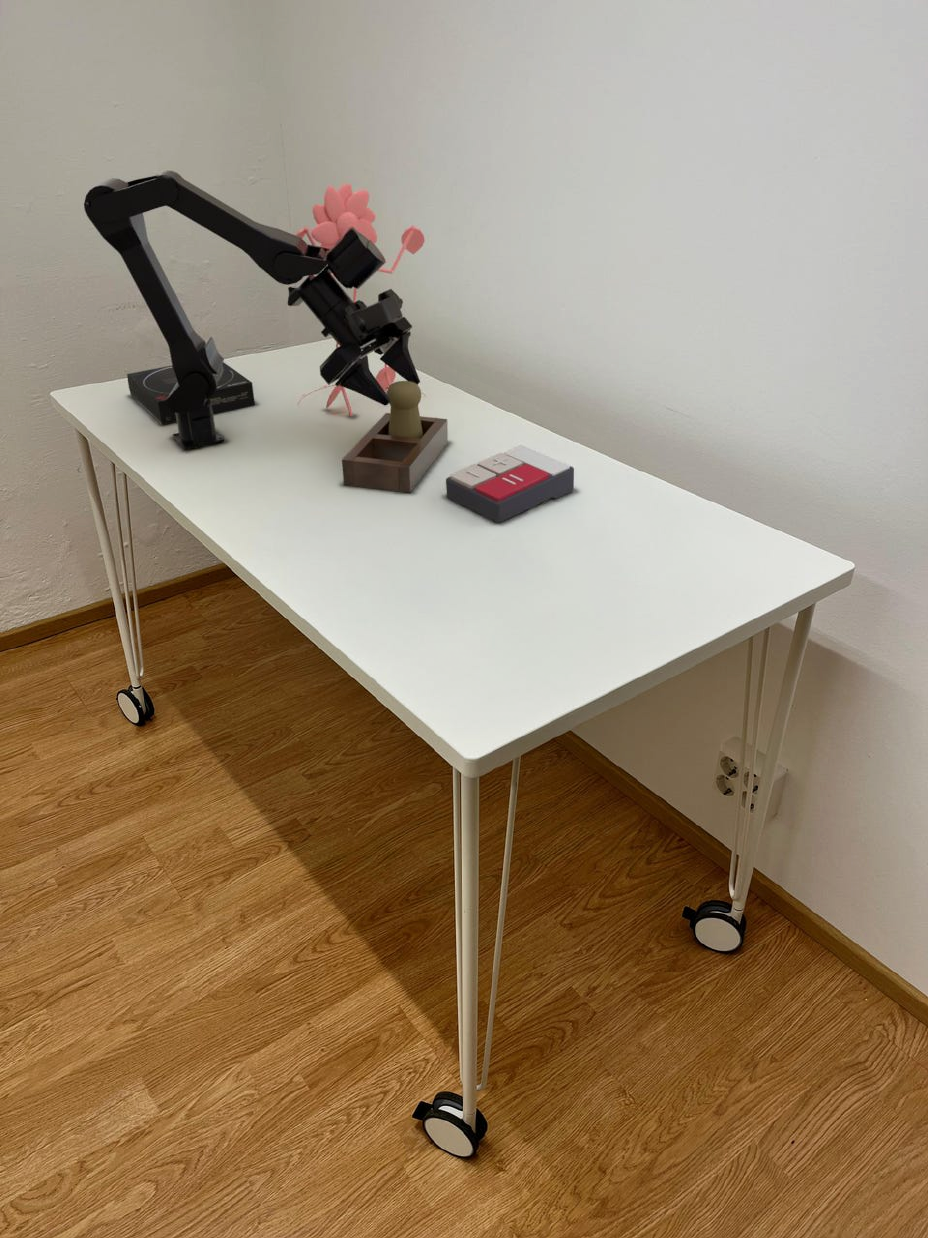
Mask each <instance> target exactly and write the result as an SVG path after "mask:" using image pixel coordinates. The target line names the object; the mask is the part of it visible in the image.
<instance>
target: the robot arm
mask: <svg viewBox="0 0 928 1238" xmlns="http://www.w3.org/2000/svg"><path fill="white" fill-rule="evenodd" d="M164 207H169V208H171V210H174V211H175V212H177V213H179V214H181V215H182V216H184V217H186V218H187V219H189V220H191V221H192V222H194V223H196V224H197V225H199V226H201V227H203V228H204V229H206V230H208V231H209V232H211V233H213V234H214V235H216V236H218V237H219V238H221V239H223V240H225V241H227V242H228V243H230V244H232V245H233V246H235V247H237V248H238V249H240V250H241V251H243V252H244V253H245V254H246V255H248V257H249V258H250V259H251V260H252V261H253V262H254V263H255V265H257V267H259V268H260V269H261V271H264V272H265V274H267V275H268V276H270V277H271V278H272V279H273V280H275V281H276V282H277V283H279V284H282V285H286V286H288V287H287V290H288V297H287V305H288V307H299V306H300V305H301V304H303V303H304V304H305V305H306V306H307V308H308V309H309V311H310V312H311V313H312V314H313V315H314V316H315V318H316V319H317V320H318V321H319V323H320V324H321V325H322V326H323V327H324V328H323V329H322V330H321V332H320V333H321V334H322V336H323V337H324V338H328V337H330V336H331V337H332V338H333V340H334V341H335V342H336V343H338V348H336V347H335V349H334V350H333V351H332V352H331V353H330V354H329V355H328V356H327V358H326V359H325V360H324V361H323V362H322V363H321V364H320V365H319V375H320V377H321V378H322V379H323V380H324V382H325V383H326V384H327V385H328V386H331V384H333V383H334V385H335V387H336V386H337V387H338V386H342V387H344V388H345V389H348V390H350V391H353V392H355V393H357V394H360V395H362V396H364V397H366V398H368V399H370V400H371V401H374V402H377V403H379V404H381V405H383V406H384V407H387V406H388V405H390V404H389V403H390V399H389V398H388V396H387V392H386V391H384V390H383V388H382V387H381V386H380V384H379V383H378V381H377V380H376V376H375V375H374V374H373V373H372V371H371V370H370V365H369V354H372V353H373V352H374V353H375V354H377V355H379V356H380V357H379V360H380V361H381V362H382V363H384V365H385V364H386V365H387V367H390V368H392V369H393V370H394V371H395V373H396V374H398V375H399V376H400V377H402V378H403V379H404V380H405V381H411V382H414V383H416V384H417V385H418V386H419V384H420V383H421V379H420V377H419V374H418V372H417V370H416V367H415V365H414V362H413V359H412V357H411V354H410V350H409V338H410V337H411V335H412V332H411V330H412V328H413V325H412V324H411V322H410V321H409V320H408V318H406V316H404V314H403V312H402V310H401V309H402V308H403V303H404V301H403V299H402V298H401V297H400V296H399V295H398V293H396V292H395V291H394V290H393V289H392V288H389V289H387V290H385V291H383V292H380V293H379V294H378V295H377V301H376V302H374V303H373V304H370V305H368V306H367V305H366V303H365V302H364V301H363V300H360V299H358V300H356V302H353V298H351V296H349V295H348V293H347V292H346V290H344V288H346V289H350V290H351V289H354V288H356V289H357V290H359V289H361V287H362V286H363V285H364V284H365V283H366V282H368V280H370V279H371V278H372V276H374V275H375V274H376V273H377V272H379V271H378V270H379V269H380V268H382V267H383V266H384V265H385V264H386V263H387V260H386V258H385V256H384V255H383V253H382V252H381V250H380V249H379V247H378V246H377V245H376V243H375V244H374V243H373V242H372V241H371V240H370V239H369V240H368V239H367V238H366V237H365V236H364V235H363V234H361V233H359V232H358V231H357V230H356V229H355V228H354V227H350V228H349V229H348V230H347V232H346V233H345V234H344V236H343V237H342V238H341V239H340V240H339V241H338V242H337V243H336V244H335V245H334V246H333V247H332V248H331V249H329V248H324V247H320V245H319V246H318V245H317V246H314V245H312V244H309V243H307V242H306V241H305V240H304V239H301V238H300V237H298V236H296V235H295V234H292V233H290V232H288V231H286V230H282V229H280V228H277V227H273V226H269V225H266V224H262V223H259V222H257V221H255V220H253V219H252V218H250V217H248V216H246V215H245V214H243V213H241V212H240V211H238V210H236V209H235V208H234V207H231V206H230V205H228V204H226V203H225V202H223V201H221V200H220V199H218V198H216V197H215V196H213V195H212V194H210V193H208V192H206V191H205V190H203V189H201V188H200V187H198V186H197V185H194V184H193V183H191V182H190V181H188V180H186V179H185V178H184V177H182V176H181V174H179V173H178V172H177V171H174V170H165V171H163V172H161V173H159V174H155V175H151V176H144V177H140V178H136V179H133V180H128V181H124V180H122V179H120V178H114V177H112V178H111V177H110V178H107V179H104V180H103V181H102V182H100V183H99V184H97V185H95V186H94V187H92V188H91V189H89V190H88V192H87V193H86V195H85V198H84V203H83V208H84V212H85V215H86V217H87V218H88V220H89V221H90V222H91V224H92V225H93V227H94V228H95V229H96V231H97V232H98V233H99V234H100V236H101V237H102V239H103V240H104V241H105V242H107V243H108V244H109V246H111V247H112V248H113V249H114V250H115V251H116V252H117V253H118V254H119V255H120V257H121V258H122V260H123V262H124V264H125V266H126V269H127V270H128V272H129V274H130V276H131V277H132V280H133V281H134V283H135V285H136V287H137V289H138V291H139V293H140V294H141V296H142V298H143V300H144V302H145V304H146V306H147V308H148V310H149V311H150V313H151V316H152V317H153V320H154V321H155V323H156V325H157V326H158V329H159V330H160V333H161V335H162V337H163V338H164V340H165V342H166V344H167V346H168V349H169V355H170V361H171V366H172V367H173V371H174V374H175V377H176V379H177V383H176V385H175V387H174V388H173V390H172V392H171V393H170V395H169V396H168V398H167V400H166V403H167V405H168V406H169V408H170V410H171V412H172V413H175V415H176V420H177V422H176V425H177V430H178V431H177V432H176V433H172V439H174V440H175V442H177V444H178V445H179V446H180V447H181V448H182V449H183V450H184V451H188V450H193V449H198V448H203V447H207V446H212V445H216V444H220V443H224V442H225V438H224V437H223V436H222V434H220V433H219V432H218V431H217V430H216V423H215V418H214V414H213V411H212V404H211V400H210V399H209V397H211V396H212V395H213V394H214V392H215V390H216V389H217V387H218V385H219V383H220V381H221V378H222V376H223V366H222V363H223V362H224V361H225V358H224V357H223V356H222V355H221V354H220V352H219V351H218V349H217V346H216V342H215V340H214V338H213V336H209V337H208V338H206V339H203V337H202V336H200V334H198V333H197V332H196V330H195V329H194V327H193V325H192V324H191V322H190V320H189V318H188V316H187V313H186V312H185V310H184V308H183V306H182V304H181V302H180V300H179V298H178V296H177V294H176V292H175V290H174V288H173V286H172V284H171V282H170V281H169V278H168V276H167V274H166V272H165V271H164V268H163V266H162V264H161V263H160V261H159V259H158V257H157V255H156V253H155V251H154V249H153V247H152V244H151V243H150V240H149V237H148V233H147V228H146V222H145V216H144V214H145V213H147V212H150V211H153V210H156V209H160V208H164ZM331 274H333V275H334V276H335V277H333V276H332V275H331ZM304 277H306V278H304ZM303 278H304V280H303V281H302V279H303ZM300 281H302V282H300ZM299 282H300V284H298V283H299ZM293 284H298V285H297V286H289V285H293ZM343 287H344V288H343ZM339 378H340V379H339Z"/></svg>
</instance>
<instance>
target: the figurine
mask: <svg viewBox="0 0 928 1238" xmlns="http://www.w3.org/2000/svg"><path fill="white" fill-rule="evenodd" d="M369 200H370V193H369V191H368V190H366V189H359V190H356V191H355V192H353V190H352V185H351V184H350V183H349V182H346V183H343V184H342V185H341V186H340V187H339V188H338V190H337V189H336V188H335V187H334V186H333V185H330V186H327V187H326V189H325V191H324V197H323V201H324V204H317V203H315V204H314V205H313V206H312V216H313V219H314V221H315V222H316V224H317V225H315V226H314V227H313V228H312V229H311V232H310V229H309V228H310V227H308V226H304V227H303V228H301V229H299V230H298V231H297V232H296V233H295V234H294V235H296V236H298V237H300V238H301V239H303V238H304V237H305V235H306V236H307V238H308V240H309V242H310V243H311V244H310V245H314V246H318V245H317V244H316V242H317V243H319V244H320V245H319V247H324V248H329V249H331V248H332V247H333V246H334V245H335V244H336V243H337V242H338V241H339V240H340V239H341V238H342V237H343V236H344V234H345V233H346V232H347V230H348V229H349V228H350V227H354V228H355V229H356V230H357V231H358V232H359V233H361V234H363V235H364V236H365V237H366V238H367V239H368V240H369V239H370V240H371V241H372V242H373V243H374V244H375V245H376V243H377V242H378V237H377V236H378V235H377V233H376V230H375V227H374V226H373V223H374V222H375V221H376V214H375V212H374V211H373V210H371V208H369V207H368V203H369ZM400 239H401V240H400V242H401V245H402V246H401V248H400V250H399V252H398V254H397V256H396V259H395V261H394V263H393V264H392V266H391V269H387V268H382V267H381V268H380V269H379V270H378V271H377V272H380V273H386V274H390V275H393V272H395V270H396V268H397V266H398V264H399V262H400V260H401V258H402V256H403V254H404V252H405V250H406V251H408V252H409V253H410V254H412V255H415V254H416V253H417V252H418V251H419V250H421V249H422V248H423V246H424V244H425V234H424V233H423V231H422V230H421V228H418V227H416V226H415V225H411V226H410V227H408V228H406V229H405V230H404V231H403V233H402V234H401V238H400ZM303 240H304V239H303ZM331 275H332V276H333V277H334V278H335V276H334V275H333V273H331ZM357 293H358V289H356V288H354V287H353V295H352V301H353V302H356V301H357ZM338 347H339V344H338V343H337V342H336V344H335V349H336V348H338ZM396 375H397V372H395V371H394V370H393V369H392V368H390V367H389V366H388V365H386V364H385V363H384V367H383V368H381V369H380V370H379V371H378V373H377V374H376V376H375V379H376V380H377V381H378V383H379V384H380V386H381V387H382V388H383V390H384V391H385V392H387V390H388V387H389V386H390V385H391V384H392V383H395V379H396ZM339 379H340V378H339ZM339 379H338V380H339ZM330 387H333V390H332V391H331V393H330V394H329V396H328V398H327V400H326V405H325V409H329V407H331V405H332V404H333V403H334V401H335V400H336V399H337V397H338V396H339V394H340V393H342V395H343V399H344V402H345V405H346V408H347V411H348V414H349V417H353V416H354V414H353V411H352V407H351V405H350V404H351V403H350V401H349V397H348V395H347V392H346V388H345V387H342V386H338V387H337V386H336V385H335V384H332V385H328V386H327V385H323V386H321V387H319V388H318V389H315V390H313V391H311V392H309V393H307V394H306V395H305V394H302V395H301V396H300V400H299V401H298V402H297V404H299V403H300V402H301V401H302V400H303V399H304V398H306V397H307V396H309V395H311V394H312V393H315V392H317V391H320V390H323V389H327V388H330ZM421 395H423V396H425V397H427V396H426V394H425V393H424V392H421Z"/></svg>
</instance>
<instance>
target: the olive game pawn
mask: <svg viewBox="0 0 928 1238" xmlns="http://www.w3.org/2000/svg"><path fill="white" fill-rule="evenodd" d="M386 394H387V396H388V398H389V399H390V403H389V404H388V405H390V412H389V413H390V422H389V434H388V435H389V436H398V437H407V438H417V439H421V438H422V437H423V432H422V426H421V420H420V416H421V415H420V409H419V404H420V402H421V399H422V391H421V388H420V386H419V384H418V385H417V384H416V383H414V382H411V381H407V380H399V381H394V382H393V383H392V384H391V385H390V386H389V387H388V389H387V390H386Z"/></svg>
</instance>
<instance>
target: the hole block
mask: <svg viewBox="0 0 928 1238" xmlns="http://www.w3.org/2000/svg"><path fill="white" fill-rule="evenodd" d="M420 420H421V426H422V432H423V437H422V438H421V439H417V438H407V437H398V436H389V435H388V434H389V422H390V412H385V413H384V414H383V415H382V416H381V417H380V419H379V420H378V421H376V423H375V424H374V425H372V427H371V428H370V429H369V430H368V431H367V433H365V434H364V435H363V436H362V438H361V439H359V441H358V442H357V443H356V444H355V445H354V446H353V447H352V448H351V449H350V450H349V451H348V452H347V454H346V455H345V456H344V457H343V458H342V459H341V466H342V478H343V479H342V480H343V485H344V486H349V487H359V488H367V489H375V490H382V491H383V490H384V491H391V492H397V493H399V492H400V493H406V494H411V492H412V491H413V490H414V488H415V487H416V486H417V484H418V483H419V482H420V480H421V479H422V478H423V476H424V475H425V474H426V472H427V471H428V470H429V468H431V466H432V465H433V463H434V462H435V461H436V459H438V457H439V455H440V454H441V453H442V451H443V450H444V448H445V447H446V446H447V444H448V442H449V437H448V435H449V434H448V430H449V429H448V418H441V417H440V418H439V417H432V416H421V415H420Z"/></svg>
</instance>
